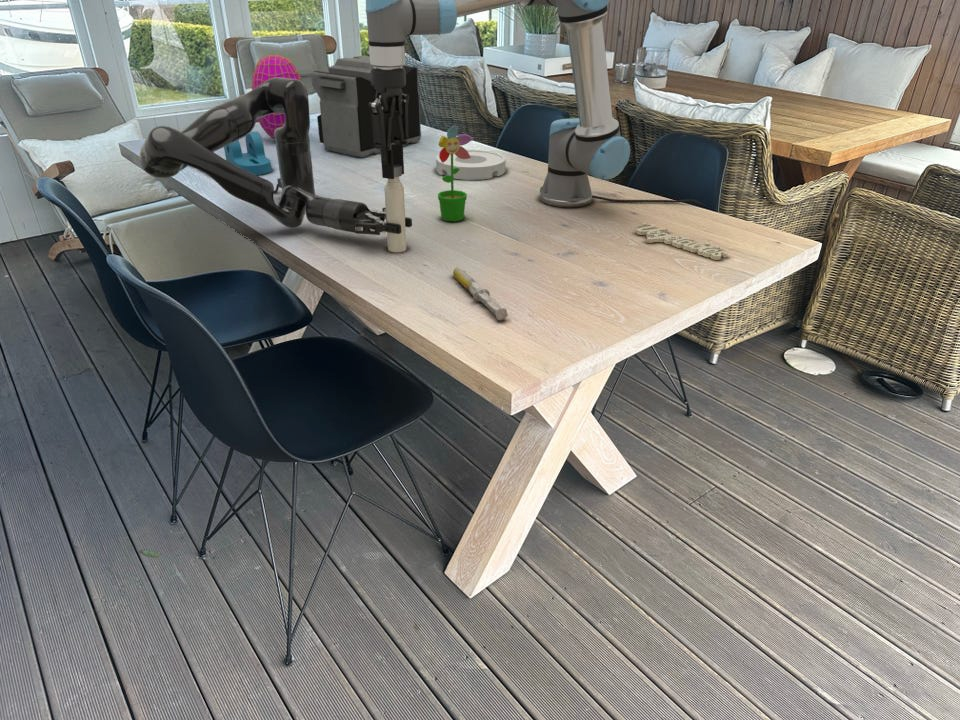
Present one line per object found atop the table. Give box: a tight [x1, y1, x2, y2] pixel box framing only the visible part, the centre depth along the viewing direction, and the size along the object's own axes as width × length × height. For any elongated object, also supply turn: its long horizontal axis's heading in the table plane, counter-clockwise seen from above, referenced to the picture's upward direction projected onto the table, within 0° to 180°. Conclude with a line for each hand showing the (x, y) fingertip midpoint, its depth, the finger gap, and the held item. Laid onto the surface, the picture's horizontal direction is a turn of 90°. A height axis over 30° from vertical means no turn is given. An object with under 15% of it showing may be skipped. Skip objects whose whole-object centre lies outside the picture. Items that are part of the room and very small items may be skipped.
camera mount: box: [223, 131, 272, 176], centre depth 226 cm, size 18×10×10 cm, turn 35°
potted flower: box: [437, 124, 474, 222], centre depth 182 cm, size 9×8×25 cm
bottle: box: [383, 177, 407, 253], centre depth 163 cm, size 4×4×20 cm
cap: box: [394, 164, 403, 178], centre depth 158 cm, size 4×4×2 cm
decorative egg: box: [251, 54, 303, 140], centre depth 257 cm, size 19×19×30 cm
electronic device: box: [310, 55, 422, 159], centre depth 250 cm, size 37×22×30 cm, turn 144°
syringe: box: [452, 266, 509, 321], centre depth 145 cm, size 25×4×3 cm, turn 21°
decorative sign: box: [636, 222, 728, 261], centre depth 173 cm, size 26×1×10 cm
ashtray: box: [435, 149, 507, 181], centre depth 229 cm, size 23×23×4 cm
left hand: (405, 226), depth 164 cm, fingers closed on bottle, 4 cm apart
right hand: (393, 175), depth 159 cm, fingers closed on cap, 4 cm apart
